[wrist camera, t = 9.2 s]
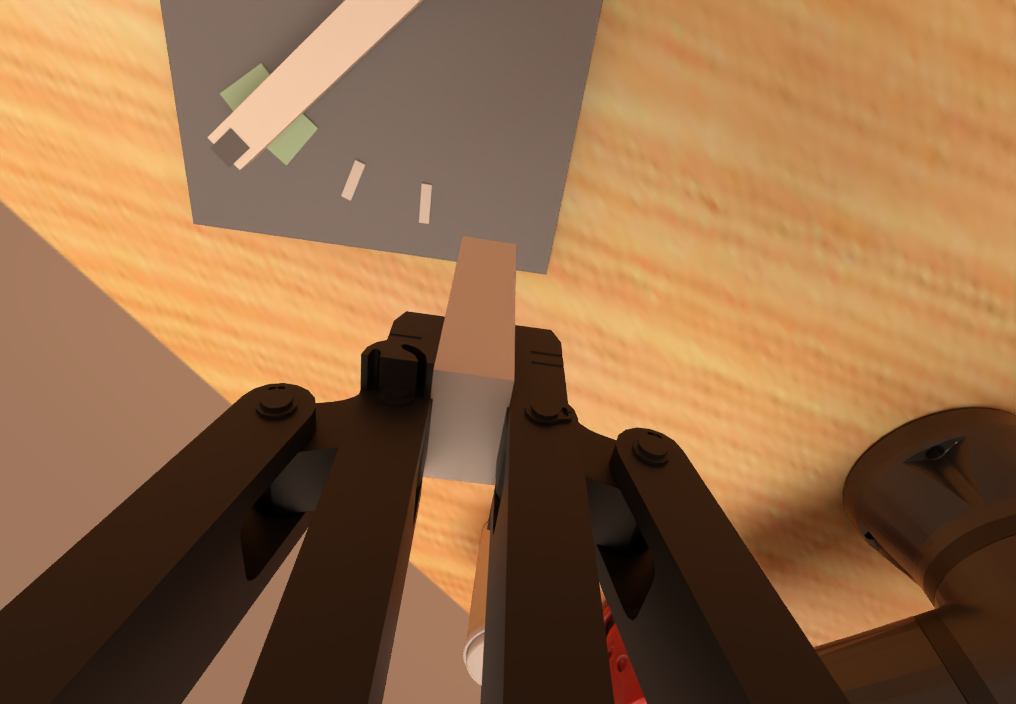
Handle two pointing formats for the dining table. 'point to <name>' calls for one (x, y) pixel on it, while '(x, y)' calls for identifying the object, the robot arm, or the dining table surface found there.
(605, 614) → the plant pot
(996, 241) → the dining table surface
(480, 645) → the coffee cup
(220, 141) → the knob-ended beige rod
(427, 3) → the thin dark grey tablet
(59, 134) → the dining table surface
